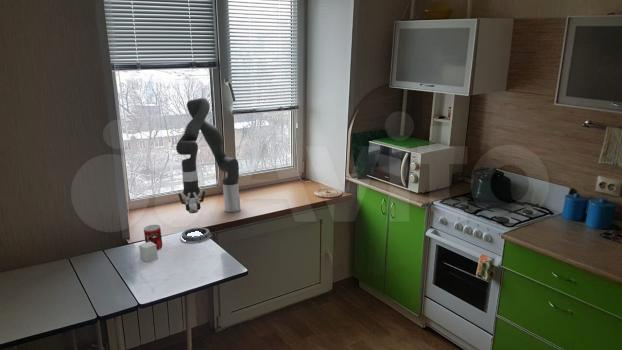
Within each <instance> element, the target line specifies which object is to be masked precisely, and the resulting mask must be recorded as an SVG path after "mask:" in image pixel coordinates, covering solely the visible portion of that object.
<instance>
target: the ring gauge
mask: <svg viewBox="0 0 622 350" xmlns="http://www.w3.org/2000/svg"><path fill="white" fill-rule="evenodd" d="M195 231H199V232H201V233H202V234H203V235H200V236H194V237H192V236H187V234H188V233H191V232H195ZM181 236H182V238H183V239H184V240H186V242H198V243H202V242H201V241H203V242H205V241H204V240H206V241H208V240H209V239H210V238H212V233H211V231H210V230H209V228H206V227H200V226H199V227H193V228H188V229H185V230H184V231H182V233H181ZM207 239H208V240H207ZM186 242H185V243H186Z"/></svg>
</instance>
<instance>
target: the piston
mask: <svg viewBox="0 0 622 350" xmlns="http://www.w3.org/2000/svg"><path fill="white" fill-rule="evenodd" d="M188 207H189V211H188V213H189V214H196V213H198V212H199V210H198V204H197V200H196V198H190V199H189V201H188Z"/></svg>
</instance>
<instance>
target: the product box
mask: <svg viewBox="0 0 622 350" xmlns="http://www.w3.org/2000/svg"><path fill="white" fill-rule="evenodd" d="M138 248H139V256H140V260H142V261H143V262H145V263H149V262H152V261H155V260H157V259H158V258H159V257H158V256H159V255H158V250H157V247H156V244H154V243H152V242H151V241H150V242H147V243H145V242H144V243H141V244H139V245H138Z"/></svg>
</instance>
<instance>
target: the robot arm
mask: <svg viewBox="0 0 622 350" xmlns="http://www.w3.org/2000/svg"><path fill="white" fill-rule="evenodd" d="M186 108H187V111H188V113H189V115H190V117H191V118H192V119H190V121H189V122H188V124H187V125H186V127H185V130H184V133H183V134H182V136H181V137H180V138H179V140H178V141H177V143H176V146H175V150H176V152H177V153H178V155H182V156H183V155H184V156H185V155H187V156H190V157H187V158H185V159H182V160H181V171H182V175H181V176H182V186H183V191H181V192H180V191H179V192H178V193H177V195H178V198H179V200H180V204H182V205H185V210H186V211H187V212H189V207H188V201H189V199H190V198H196V200H197V204H198V211H199V210H201V208H202V207H201V203H203V202H204V199H205V195H206V191H205V189H200V188H199V177H198V170H197V155H198V151H199V144H198V143H197V142H196V141H197V140H198V137H199V134H200V132H201V134H202V136H203V138H204V140H205V142H206V143H207V145H208V147H209V149H210V151H211V153H212V154H213V157H214V159H215V162H216V164H217V167H218V169H219V170H220V171H221V172H223V173H227V177H224V178H223V179H222V190H223V202H224V203H223V204H224V211H225V212H227V213H235V212H238V211H241V197H240V193H239V192H240V191H239V178H240V172H239V170H240V169H239V168H240V167H239V160H238V159H237V158H235V157H229V156H227V155H226V153H225V151H224V148H223V147H224V139H223V136H222V134H221V132H220V130H219V129H218V128H217V126H215V125H213V124H212V123H211V122H208V121H207V120H206V118H207V116H208V115H209V112H210V108H211V107H210V103H209V100H208V99H207V98H206V97H198V98H194V99H191V100H188V101H187V102H186ZM199 194H200V196H201V197H200V198H199ZM183 196H186V198H185V200H184V199H183Z"/></svg>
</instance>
